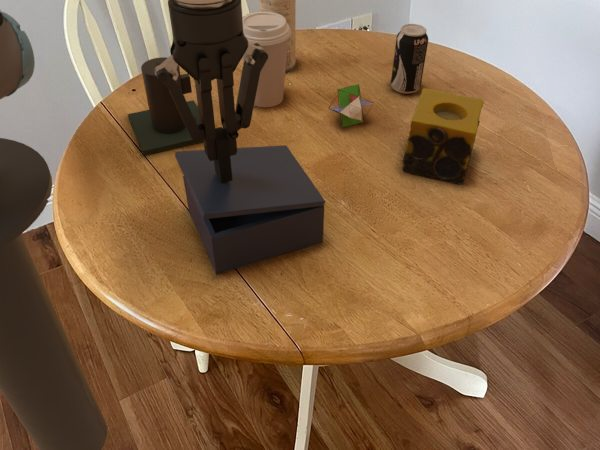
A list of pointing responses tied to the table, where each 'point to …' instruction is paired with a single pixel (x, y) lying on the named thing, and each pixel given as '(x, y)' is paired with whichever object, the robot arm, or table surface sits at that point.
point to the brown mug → (163, 99)
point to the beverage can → (409, 58)
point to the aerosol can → (285, 5)
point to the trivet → (157, 141)
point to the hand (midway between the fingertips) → (223, 175)
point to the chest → (255, 234)
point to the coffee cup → (269, 53)
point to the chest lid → (249, 182)
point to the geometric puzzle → (350, 105)
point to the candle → (442, 135)
